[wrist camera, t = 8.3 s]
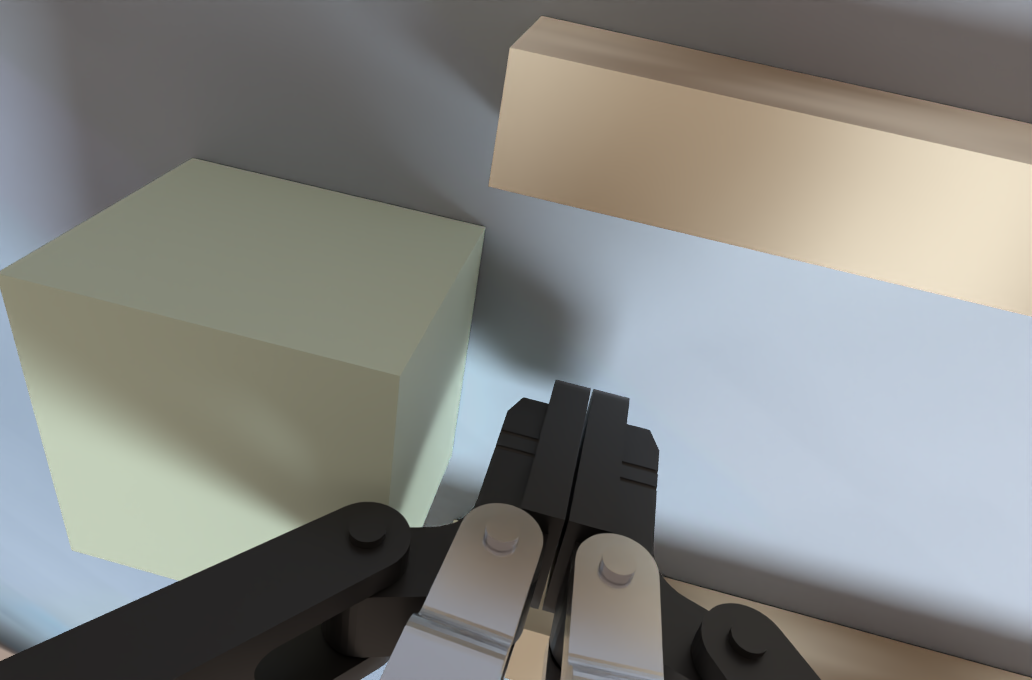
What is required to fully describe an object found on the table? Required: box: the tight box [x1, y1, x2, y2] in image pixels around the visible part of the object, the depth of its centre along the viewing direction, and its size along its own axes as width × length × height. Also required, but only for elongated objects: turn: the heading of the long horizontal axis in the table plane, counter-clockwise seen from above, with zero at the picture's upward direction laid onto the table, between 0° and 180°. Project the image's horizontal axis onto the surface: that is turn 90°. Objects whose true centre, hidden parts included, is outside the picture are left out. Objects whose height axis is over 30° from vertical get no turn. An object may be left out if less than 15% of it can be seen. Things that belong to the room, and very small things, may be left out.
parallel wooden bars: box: [453, 16, 1032, 680], centre depth 14 cm, size 20×14×2 cm
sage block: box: [0, 158, 485, 581], centre depth 14 cm, size 6×6×5 cm
